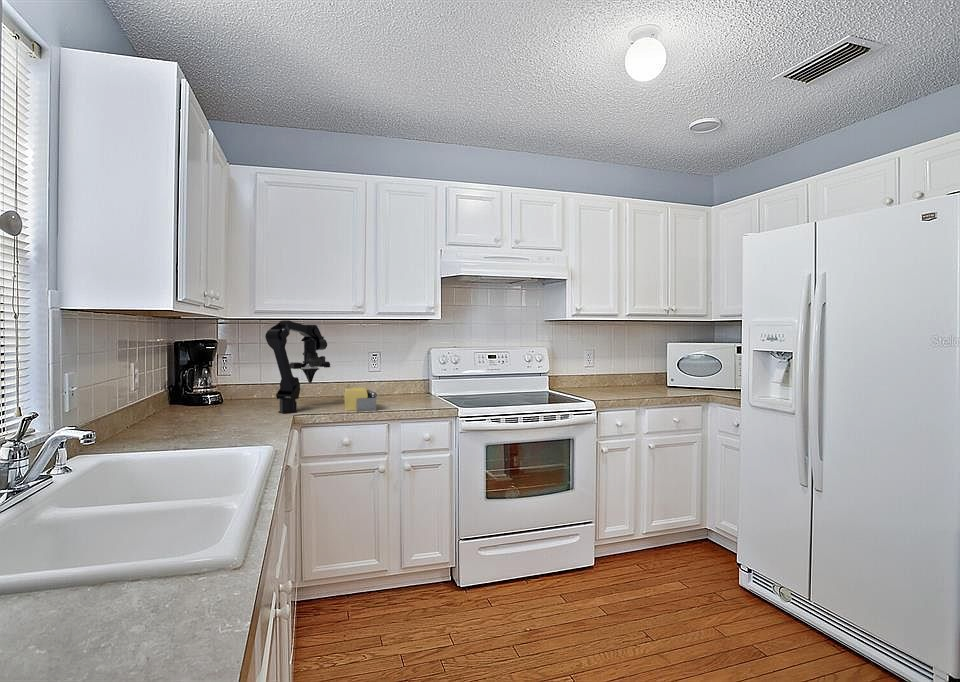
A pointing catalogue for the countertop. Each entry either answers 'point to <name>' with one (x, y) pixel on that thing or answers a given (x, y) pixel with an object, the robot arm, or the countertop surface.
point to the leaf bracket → (367, 402)
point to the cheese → (354, 397)
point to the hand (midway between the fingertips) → (310, 382)
